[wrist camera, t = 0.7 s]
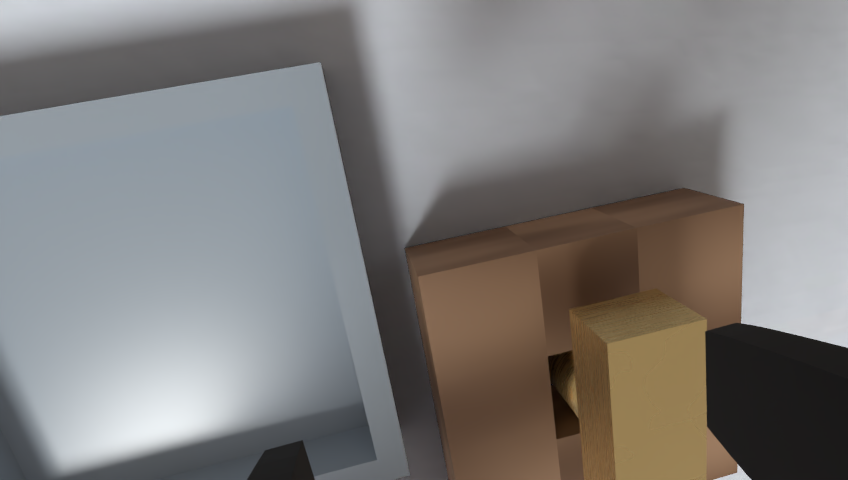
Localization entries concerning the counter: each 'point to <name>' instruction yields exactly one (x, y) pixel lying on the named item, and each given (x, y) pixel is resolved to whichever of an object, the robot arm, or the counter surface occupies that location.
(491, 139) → the counter surface
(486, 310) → the slot block
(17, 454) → the tray
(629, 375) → the t key
